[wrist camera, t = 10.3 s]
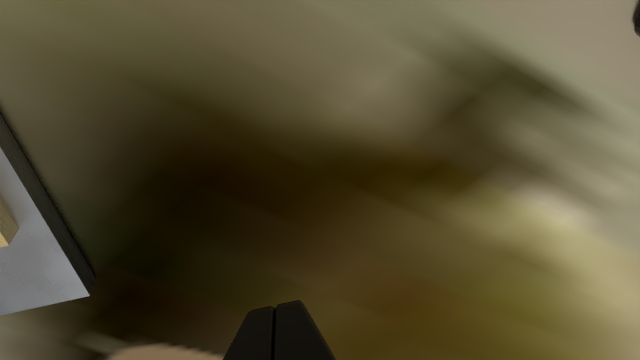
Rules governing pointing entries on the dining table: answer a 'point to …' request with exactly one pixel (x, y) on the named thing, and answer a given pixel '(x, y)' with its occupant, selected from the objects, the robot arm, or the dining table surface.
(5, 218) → the bolt plate
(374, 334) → the dining table surface
